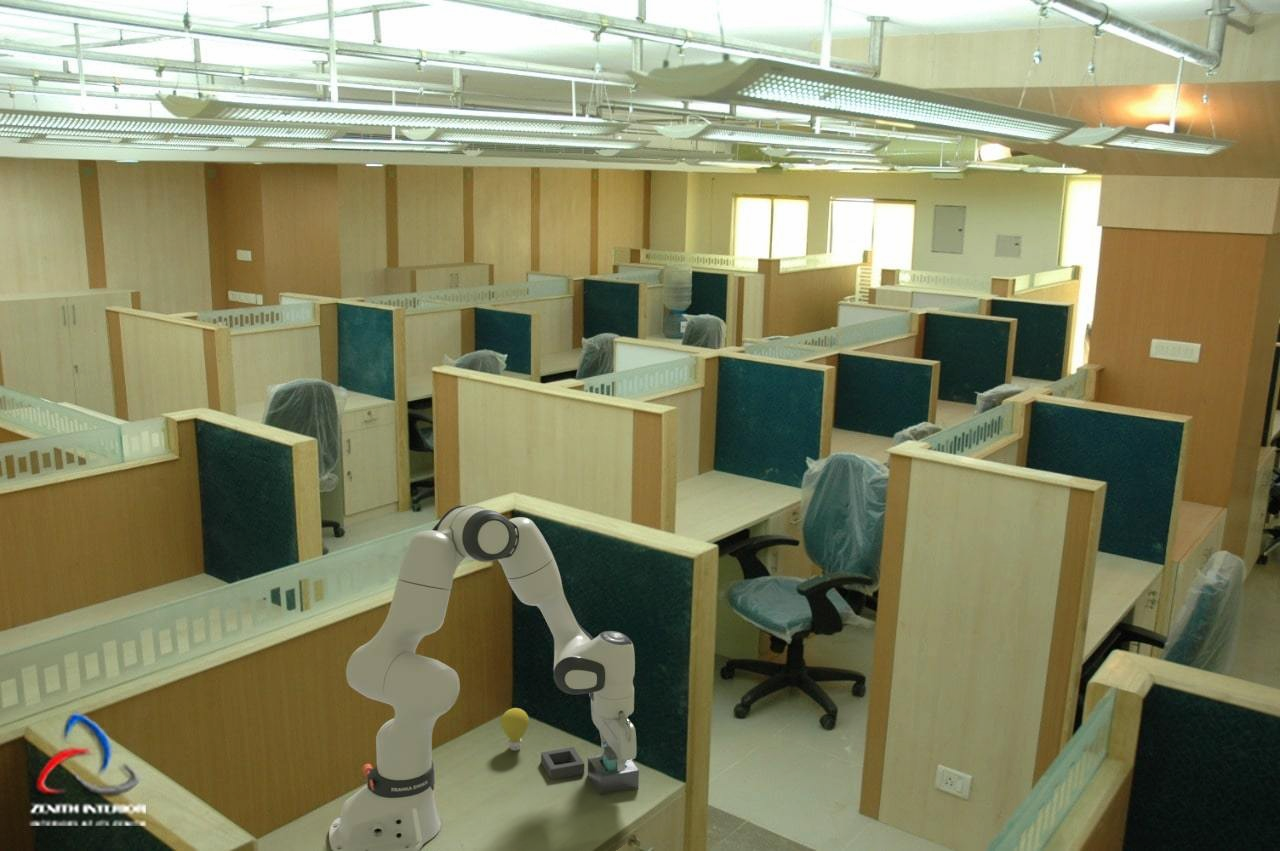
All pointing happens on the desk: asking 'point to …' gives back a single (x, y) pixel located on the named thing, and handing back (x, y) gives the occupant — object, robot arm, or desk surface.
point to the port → (612, 776)
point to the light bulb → (515, 726)
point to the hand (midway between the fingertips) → (613, 759)
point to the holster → (562, 769)
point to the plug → (609, 759)
